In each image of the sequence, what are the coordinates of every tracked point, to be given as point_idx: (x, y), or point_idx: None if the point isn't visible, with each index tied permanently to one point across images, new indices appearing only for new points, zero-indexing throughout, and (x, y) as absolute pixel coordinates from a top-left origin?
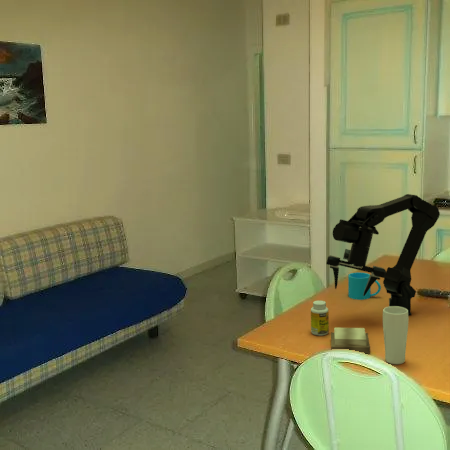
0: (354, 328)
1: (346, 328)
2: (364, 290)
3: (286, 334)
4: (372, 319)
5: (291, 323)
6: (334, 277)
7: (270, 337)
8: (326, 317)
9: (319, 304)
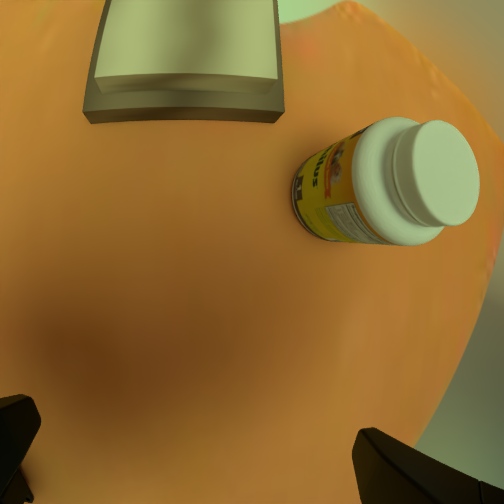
0: (155, 65)
1: (204, 63)
2: (14, 451)
3: None
4: (69, 407)
5: (433, 307)
6: (497, 488)
7: None
8: (343, 142)
9: (443, 121)
